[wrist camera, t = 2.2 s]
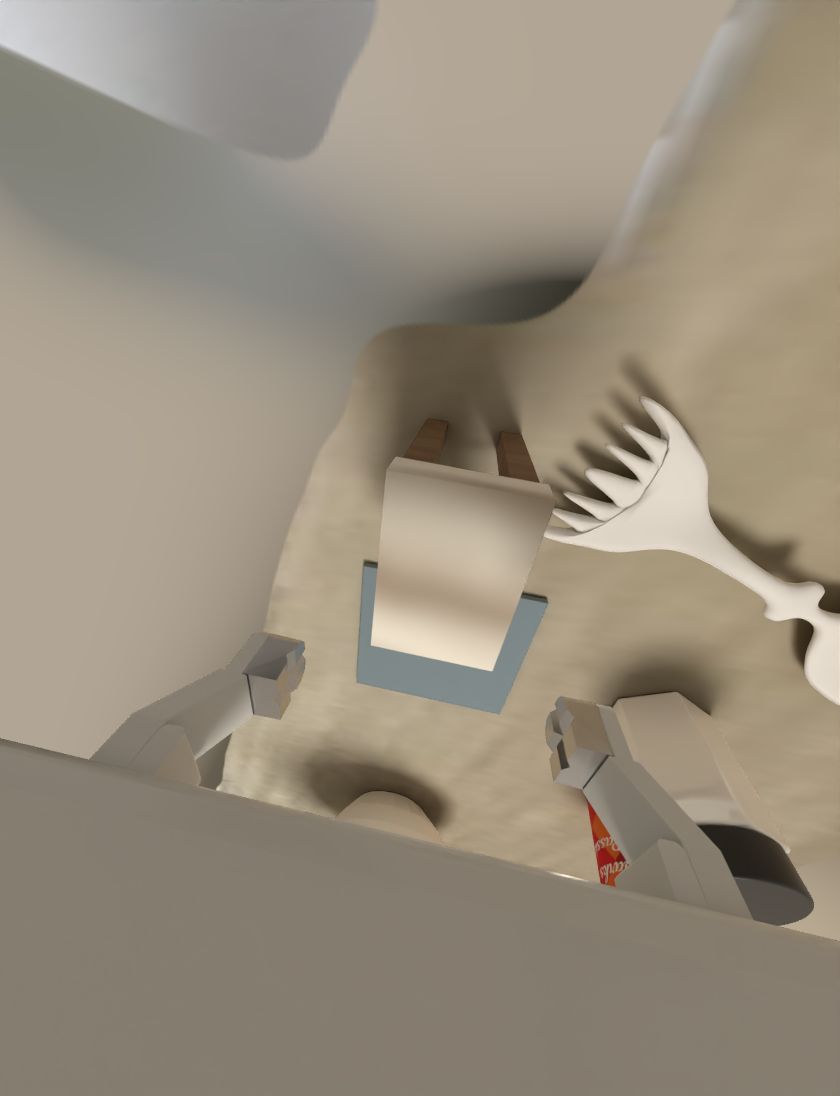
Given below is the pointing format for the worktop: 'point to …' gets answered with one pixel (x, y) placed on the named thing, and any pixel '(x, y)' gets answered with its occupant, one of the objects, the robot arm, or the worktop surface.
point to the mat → (443, 676)
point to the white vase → (390, 815)
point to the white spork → (691, 533)
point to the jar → (716, 799)
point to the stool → (456, 550)
